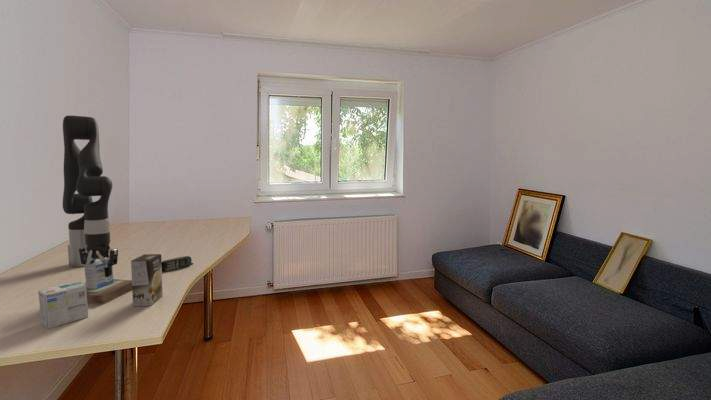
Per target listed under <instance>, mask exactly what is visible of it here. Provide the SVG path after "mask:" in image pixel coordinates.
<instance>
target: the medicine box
mask: <svg viewBox="0 0 711 400" xmlns="http://www.w3.org/2000/svg"><path fill="white" fill-rule="evenodd" d="M107 263H108V262H107ZM113 266H114V265H113ZM113 266H112V275H111V276H109V277H105V266H104V264H103V262H101V260H99V261H95V263H92V264H89V265H86V266H84V278H85V283H86V288H88V289H99V288H101V287H103V286H106V285H108V284H110V283H113V279H114V270H113Z"/></svg>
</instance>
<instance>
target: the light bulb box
mask: <svg viewBox="0 0 711 400" xmlns="http://www.w3.org/2000/svg"><path fill="white" fill-rule="evenodd" d="M37 291H38V300H39V302H38V303H39V311H40V314H39V315H40V320H41V321H40V322H41V325H43V326H44V327H45V328H46V329H47V330H49V329H51V328H54V327H58V326H62V325H65V324H66V325H67V324H69V323H73V322H75V321H78V320H83V319H85V318H88V317H89V307H88V306H89V305H88V303H87V292H86V285H85V283H83V282H80V281H79V280H77V281H74V282H69V283H64V284H59V285H55V286H52V287H46V288H43V289H38V290H37Z"/></svg>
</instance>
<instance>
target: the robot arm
mask: <svg viewBox="0 0 711 400" xmlns="http://www.w3.org/2000/svg"><path fill="white" fill-rule="evenodd" d="M62 134H63V135H62V136H63V148H64V149H63V150H64V151H63V182H64V183H63V193H62V194H63V196H62V210H63V212H64V213H65V214H66V215H76V214H79V215H81V214H82V216H81V217H79V218H78V219H75V220H72V221H70V222H69V223H68V225H67V226H68V239H69V242H68V243H69V244H68V245H67V253H68V254H67V255H68V266H71V267H73V266H74V268H77V267H78V268H79V267H80V268H81V267H85V266H86V265H89V264H92V263H95V262H96V260H99V261H101V262H103V264H104V266H105V277H109V276H111V275H112V266H115V265H118V260H119V259H118V257H119V249H118V248H111V247H110V243H111V229H110V221H109V201H110V196H111V193H112V190H113V182H112V180H111V178H109V177H108V176H105V175H103V173H104V170H103V165H102V161H101V155H100V153H101V152H100V133H99V125H98V121H97V119H96V118H94V117H93V116H84V115H83V116H82V115H65V116H64V117H63V119H62ZM75 140H82V141H83V140H84V141H85V140H86V141H88V142H87V143H86V145H85V146H83V148H81V149H80V148H79V146H78V145H77V144H76V143H77V142H76V141H75ZM102 175H103V176H102ZM76 192H77V193H76ZM93 197H100V198H99V199H98V200H96V201H94V200H93ZM107 262H108V263H107Z"/></svg>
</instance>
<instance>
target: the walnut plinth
mask: <svg viewBox="0 0 711 400" xmlns="http://www.w3.org/2000/svg"><path fill="white" fill-rule="evenodd" d="M84 284H85V285H86V282H85V283H84ZM131 291H132V279H130V280H129V279H120V278H119V279H117V278H116V279H115V278H113V283H110V284H108V285H106V286H103V287H101V288H99V289H88V288H86V292H87V304H95V305H96V304H98V305H105V304H107V303H109V302H111V301H113V300H115V299H117V298H119V297H122V296H124V295H125V294H127V293H129V292H131Z"/></svg>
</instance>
